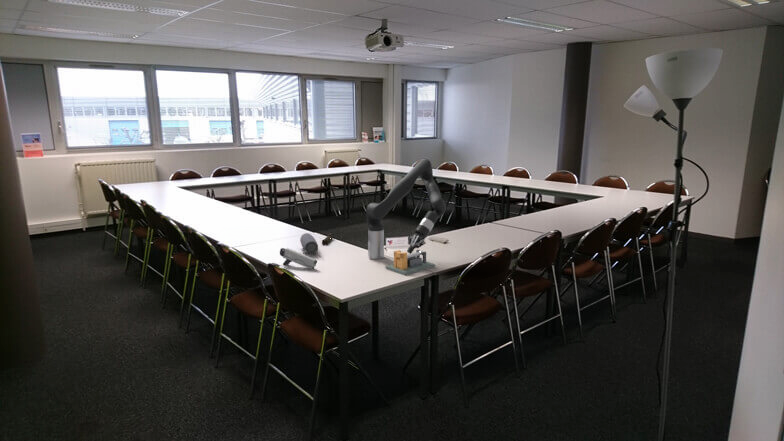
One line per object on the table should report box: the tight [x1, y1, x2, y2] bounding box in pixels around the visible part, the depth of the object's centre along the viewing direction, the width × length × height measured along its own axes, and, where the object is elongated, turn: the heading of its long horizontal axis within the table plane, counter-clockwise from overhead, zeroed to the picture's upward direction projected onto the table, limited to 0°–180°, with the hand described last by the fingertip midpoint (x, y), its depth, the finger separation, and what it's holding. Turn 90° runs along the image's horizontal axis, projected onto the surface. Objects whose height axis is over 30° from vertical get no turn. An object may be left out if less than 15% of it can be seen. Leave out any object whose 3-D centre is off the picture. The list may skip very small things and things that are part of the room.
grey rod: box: [399, 250, 424, 259], centre depth 259 cm, size 2×3×17 cm
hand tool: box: [321, 232, 333, 246], centre depth 319 cm, size 19×4×5 cm, turn 171°
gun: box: [279, 247, 318, 270], centre depth 263 cm, size 2×25×10 cm, turn 64°
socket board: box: [385, 249, 436, 276], centre depth 259 cm, size 23×16×8 cm
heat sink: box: [407, 256, 423, 268], centre depth 260 cm, size 9×9×4 cm
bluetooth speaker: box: [299, 233, 319, 255], centre depth 294 cm, size 23×9×10 cm, turn 18°
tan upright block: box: [393, 249, 408, 270], centre depth 254 cm, size 4×7×9 cm, turn 41°
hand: (408, 252), depth 257 cm, fingers closed
